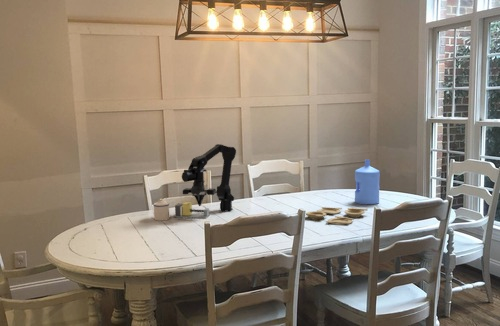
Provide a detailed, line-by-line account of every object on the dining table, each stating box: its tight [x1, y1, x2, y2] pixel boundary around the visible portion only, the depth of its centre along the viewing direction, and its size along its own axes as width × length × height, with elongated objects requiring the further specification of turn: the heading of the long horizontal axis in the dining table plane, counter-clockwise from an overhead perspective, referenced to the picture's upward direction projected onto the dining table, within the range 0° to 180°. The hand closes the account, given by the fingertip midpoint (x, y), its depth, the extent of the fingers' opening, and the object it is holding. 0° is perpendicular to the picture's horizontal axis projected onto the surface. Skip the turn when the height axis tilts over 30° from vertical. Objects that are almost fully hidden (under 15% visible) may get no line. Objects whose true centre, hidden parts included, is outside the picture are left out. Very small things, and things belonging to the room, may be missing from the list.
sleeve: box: [183, 201, 193, 216], centre depth 274 cm, size 4×5×7 cm
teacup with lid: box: [153, 198, 170, 222], centre depth 270 cm, size 12×9×12 cm
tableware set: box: [305, 206, 369, 226], centre depth 267 cm, size 35×29×4 cm
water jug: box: [354, 159, 381, 205], centre depth 303 cm, size 16×16×28 cm
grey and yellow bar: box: [174, 202, 211, 220], centre depth 274 cm, size 19×8×7 cm, turn 79°
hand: (199, 205), depth 273 cm, fingers closed
